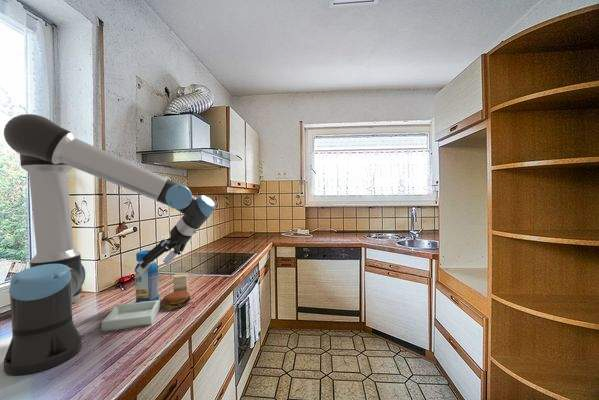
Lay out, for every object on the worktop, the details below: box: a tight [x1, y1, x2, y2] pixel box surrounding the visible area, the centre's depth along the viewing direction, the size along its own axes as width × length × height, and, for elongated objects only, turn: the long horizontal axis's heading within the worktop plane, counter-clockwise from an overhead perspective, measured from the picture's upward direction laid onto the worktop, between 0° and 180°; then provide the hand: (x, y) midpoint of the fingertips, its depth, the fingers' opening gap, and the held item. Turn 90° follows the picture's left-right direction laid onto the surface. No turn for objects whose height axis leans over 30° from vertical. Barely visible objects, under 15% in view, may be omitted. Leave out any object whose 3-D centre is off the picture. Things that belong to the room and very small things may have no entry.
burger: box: [162, 291, 192, 310], centre depth 107 cm, size 10×9×5 cm
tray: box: [101, 299, 161, 333], centre depth 95 cm, size 14×14×3 cm
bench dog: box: [172, 271, 189, 293], centre depth 115 cm, size 5×5×9 cm
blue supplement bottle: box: [134, 249, 160, 303], centre depth 109 cm, size 8×8×20 cm
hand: (152, 267), depth 109 cm, fingers open, 13 cm apart
